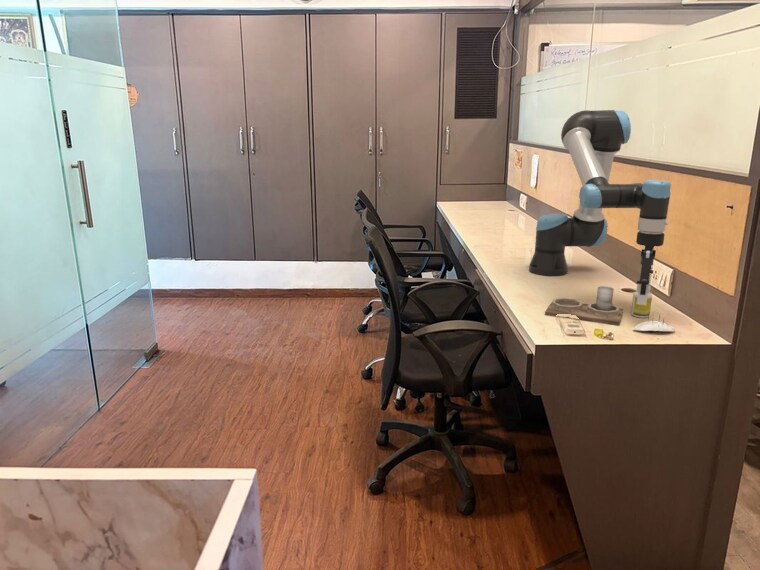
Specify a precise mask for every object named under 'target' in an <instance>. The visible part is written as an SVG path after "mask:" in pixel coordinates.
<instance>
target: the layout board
mask: <svg viewBox="0 0 760 570" xmlns="http://www.w3.org/2000/svg"><path fill="white" fill-rule="evenodd" d="M596 291H597V292H596V299H595V300H596V301H595V302H591V303H584V302H583V301H580V300H578V299H575V298H567V297H560V298H559V297H558V298H554V299H553V300H552V301H551V303H550V304H549V305H548V306H547V308H546V310H545V311H544V316H549V317H556V315H557V314H571V315H576V316H577V317H578V318H579V319H580V320H579V321H584V322H591V323H598V324H607V325H612V326H617V327H618V326H620V325H621V322H622V318H623V315H622V314H624V308H621V307H620V306H617V305H615V304H613V298H614V291H615V290H614V287H611V286H606V285H605V286H603V285H600V286H597V290H596Z"/></svg>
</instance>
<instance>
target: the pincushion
mask: <svg viewBox="0 0 760 570" xmlns="http://www.w3.org/2000/svg"><path fill="white" fill-rule="evenodd" d="M652 314H653V315H654V314H655V313H654V312H653V313H652ZM649 317H650V316H649ZM649 317H647V318H648V319H647V320H646V321H643V322H640V323H639V324H636V325H635V327H633V328H632V331H642V332H648V331H650V333H652V331H653V332H656V331H657V332H656V333H658V332H674V333H675V332H676V330H675V328H674V327H673V326H672V325H669V324H668V323H665V319H663V320H662V321H660V320H661V319H660V318H661V314H659V317H658V318H659V319H658V321H657V320H654V319H652V320H649V319H650V318H649Z"/></svg>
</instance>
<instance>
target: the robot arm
mask: <svg viewBox="0 0 760 570" xmlns="http://www.w3.org/2000/svg"><path fill="white" fill-rule="evenodd" d="M631 128H632V127H631V120H630V117H629V114H628V113H627V112H625V110H624V111H623V110H615V109H612V110H611V109H608V110H580V111H577V112H575V113H573V114H572V115H571V116H570V117H568V118H567V120H565V123H564V124H563V126H562V129H561V134H560V138H561V142H562V146H563V147H564V149H565V150H567V151H568V152H569V156H570V157H571V159H572V161H573V165H574V167H575V169H576V173H577V175H578V178H579V181H580V183H581V185H582V186H581V187H580V189H579V193H578V198H579V204H578V205H579V206H578V209H576V210H574V212H573V215H572V217H569V215H568V214H566V213H549V214H544V215H542V216H540V217H539V218H538V219H537V221H536V227H535V230H536V232H535V243H534V244H535V245H534V246H535V247H534V253H533V256H532V258H531V261H530V263H529V266H528V271H529V272H531V273H532V274H535V275H540V276H548V277H550V276H552V277H555V276H565V275H567V274H568V269H569V268H568V264H567V260H566V255H565V253H566V252H565V250H566V247H587V248H591V247H599V246H600V245H602V243H604V242H605V240H606V237H607V234H608V226H609V225H608V222H607V221H608V220H607V219H606V218H605V214H604V213H603V212H602V211H603V209H639V216H638V223H637V230H638V232H637V233H636V239H635V240H636V241H635V242H636V244H637V245H639V246H644V248H642V249H641V252H640V257H641V258H640V259H641V260H640V265H641V269H640V276H639V280H636V284H637V285H639V288H638V296H637V304H639V305H646V304H647V296H648V288H649V286H651V277H652V275H651V274H654V270H652V266H654V261H655V258H656V252H657V250H656V249H655V250H654V248H655V247H661V246H663V245H664V241H665V233H664V232H665V231H666V226H668V225H669V222H668V221H667V219H668V218H667V217H668V212H669V211H668V210H669V205H670V197H671V186H672V185H671V182H670V181H669V180H666V179H665V180H664V179H663V180H662V179H646V180H645V181H644V182H643V183H642V182H634V183H633V182H632V183H621V184H620V183H609V181H610V175H611V171H612V165H613V162H614V159H615V154H617V153H618V152H620V150H621V148H622V145H625V144H627V143H628V141H629V139H630V138H631V132H632V131H631V130H632V129H631Z"/></svg>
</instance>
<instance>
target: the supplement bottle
mask: <svg viewBox="0 0 760 570" xmlns="http://www.w3.org/2000/svg"><path fill="white" fill-rule="evenodd" d="M638 288H639V284H637V285H636V290H635V291H634V292H633V294H632V301H631V308H630V315H631V316H633V317H636V318H642V319H647V318H648V317H650V313H651V307H652V299H653V294H652V292H651V289H652V286H651V285H649V288H648V296H647V304H646V305H639V304H637V296H638Z"/></svg>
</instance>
